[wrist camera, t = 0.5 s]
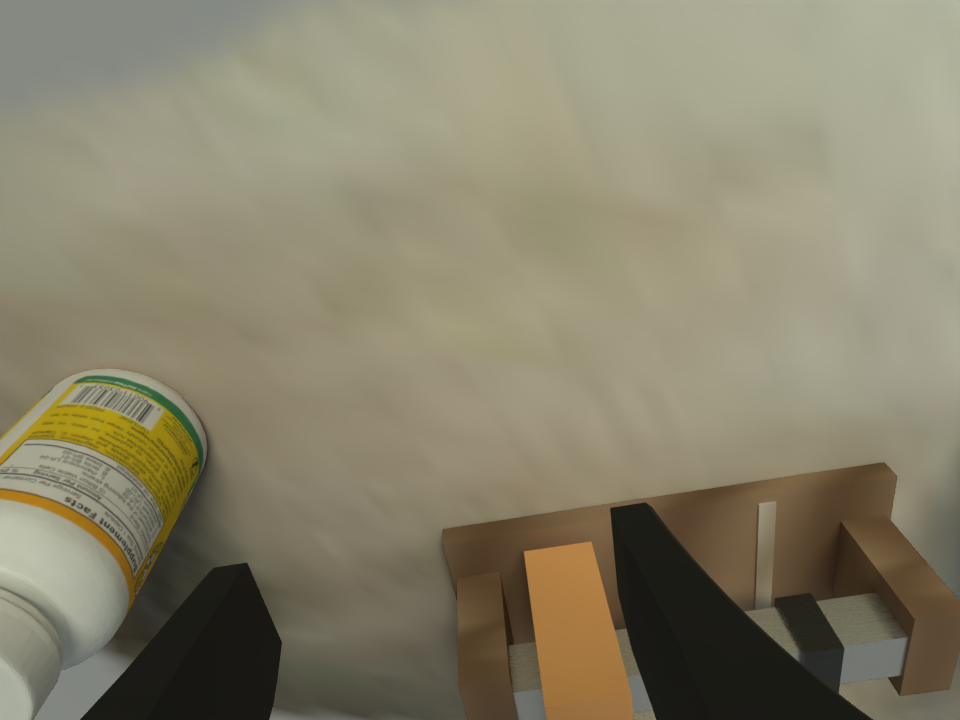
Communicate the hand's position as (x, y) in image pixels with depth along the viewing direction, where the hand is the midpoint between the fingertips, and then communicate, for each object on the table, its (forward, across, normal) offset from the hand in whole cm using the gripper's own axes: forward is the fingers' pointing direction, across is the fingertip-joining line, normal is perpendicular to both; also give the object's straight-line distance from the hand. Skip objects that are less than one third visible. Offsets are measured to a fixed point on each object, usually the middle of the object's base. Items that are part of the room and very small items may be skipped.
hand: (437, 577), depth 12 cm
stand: (+10, -6, +12) cm, 17 cm away
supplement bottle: (+11, +11, +2) cm, 15 cm away
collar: (+9, -3, +12) cm, 15 cm away
